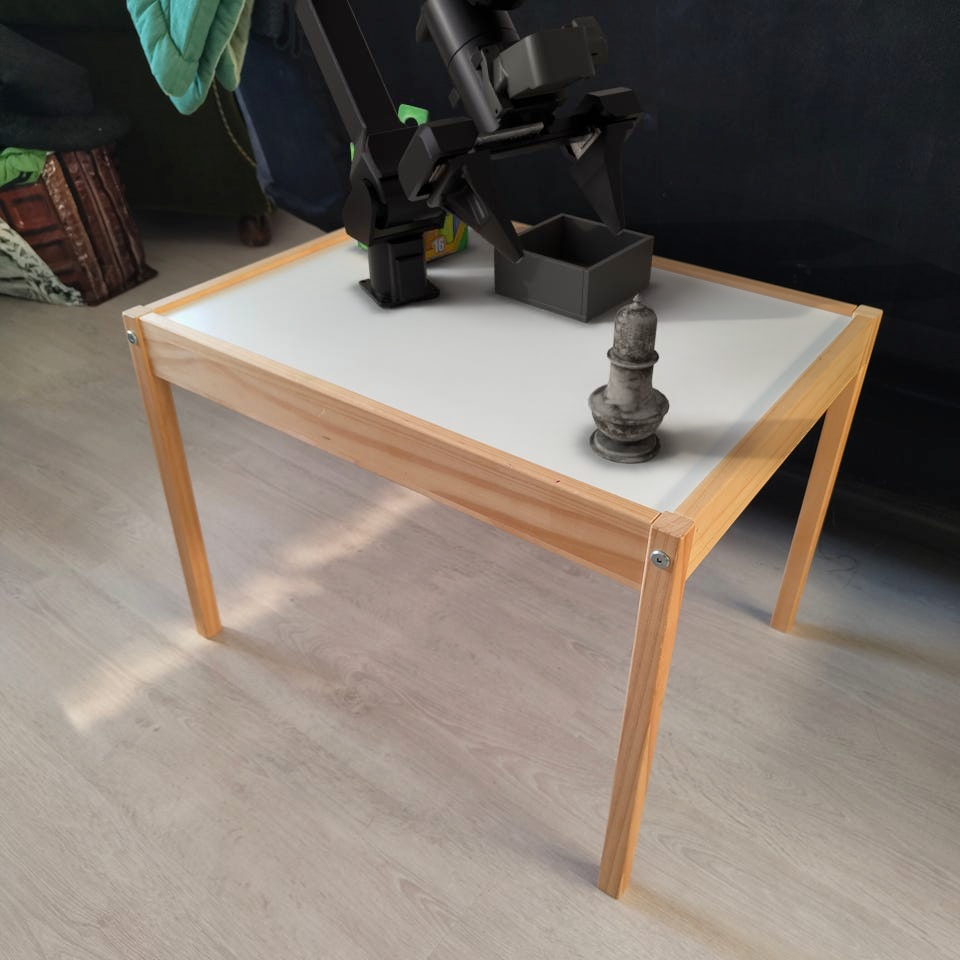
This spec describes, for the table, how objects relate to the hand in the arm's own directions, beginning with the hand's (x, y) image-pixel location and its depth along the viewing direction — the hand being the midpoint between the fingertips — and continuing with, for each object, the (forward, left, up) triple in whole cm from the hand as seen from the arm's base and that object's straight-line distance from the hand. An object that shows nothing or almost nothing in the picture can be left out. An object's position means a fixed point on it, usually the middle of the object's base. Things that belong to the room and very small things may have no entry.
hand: (571, 245), depth 64 cm
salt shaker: (+7, +1, -13) cm, 15 cm away
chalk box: (-37, +3, -13) cm, 39 cm away
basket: (-19, +12, -13) cm, 26 cm away
